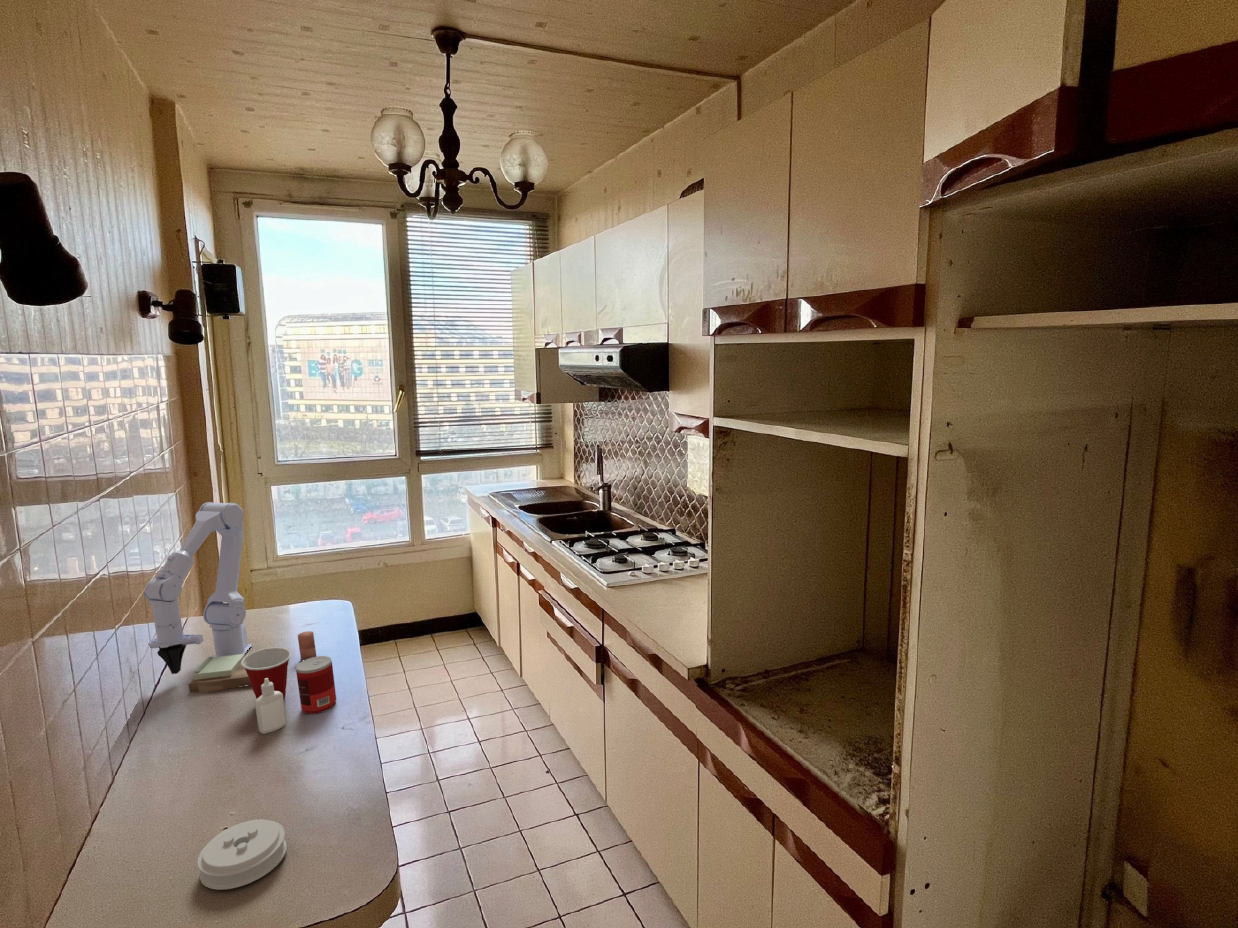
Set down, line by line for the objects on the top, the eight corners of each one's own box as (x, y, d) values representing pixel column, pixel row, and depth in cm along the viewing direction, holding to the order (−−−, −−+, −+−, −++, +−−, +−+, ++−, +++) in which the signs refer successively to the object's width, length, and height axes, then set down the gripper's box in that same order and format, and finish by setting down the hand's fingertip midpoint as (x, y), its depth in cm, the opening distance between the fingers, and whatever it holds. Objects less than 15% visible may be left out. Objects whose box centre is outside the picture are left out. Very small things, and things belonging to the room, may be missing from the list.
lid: (300, 835, 120) (296, 810, 119) (265, 891, 108) (261, 863, 107) (226, 840, 120) (222, 814, 119) (183, 897, 107) (178, 869, 107)
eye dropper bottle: (285, 729, 155) (279, 680, 153) (258, 735, 153) (250, 685, 151) (287, 720, 159) (281, 671, 157) (260, 726, 157) (253, 677, 155)
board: (212, 668, 189) (210, 660, 188) (282, 660, 192) (280, 652, 191) (189, 692, 175) (188, 683, 175) (265, 684, 178) (264, 674, 178)
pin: (303, 655, 194) (299, 632, 193) (318, 653, 195) (315, 630, 194) (299, 661, 191) (295, 637, 189) (314, 659, 191) (311, 636, 190)
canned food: (342, 697, 169) (337, 655, 167) (325, 714, 161) (320, 670, 159) (313, 697, 170) (307, 655, 168) (294, 714, 162) (288, 670, 160)
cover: (209, 662, 187) (208, 656, 186) (245, 658, 188) (244, 652, 188) (193, 679, 177) (192, 672, 176) (231, 675, 178) (230, 668, 178)
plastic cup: (260, 718, 161) (254, 670, 159) (239, 705, 167) (232, 659, 165) (305, 698, 169) (299, 652, 167) (283, 687, 176) (277, 643, 174)
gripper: (129, 632, 173) (138, 682, 176) (191, 625, 176) (199, 675, 178) (143, 621, 180) (151, 670, 182) (203, 615, 182) (210, 663, 185)
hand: (176, 672), depth 181 cm, fingers closed
